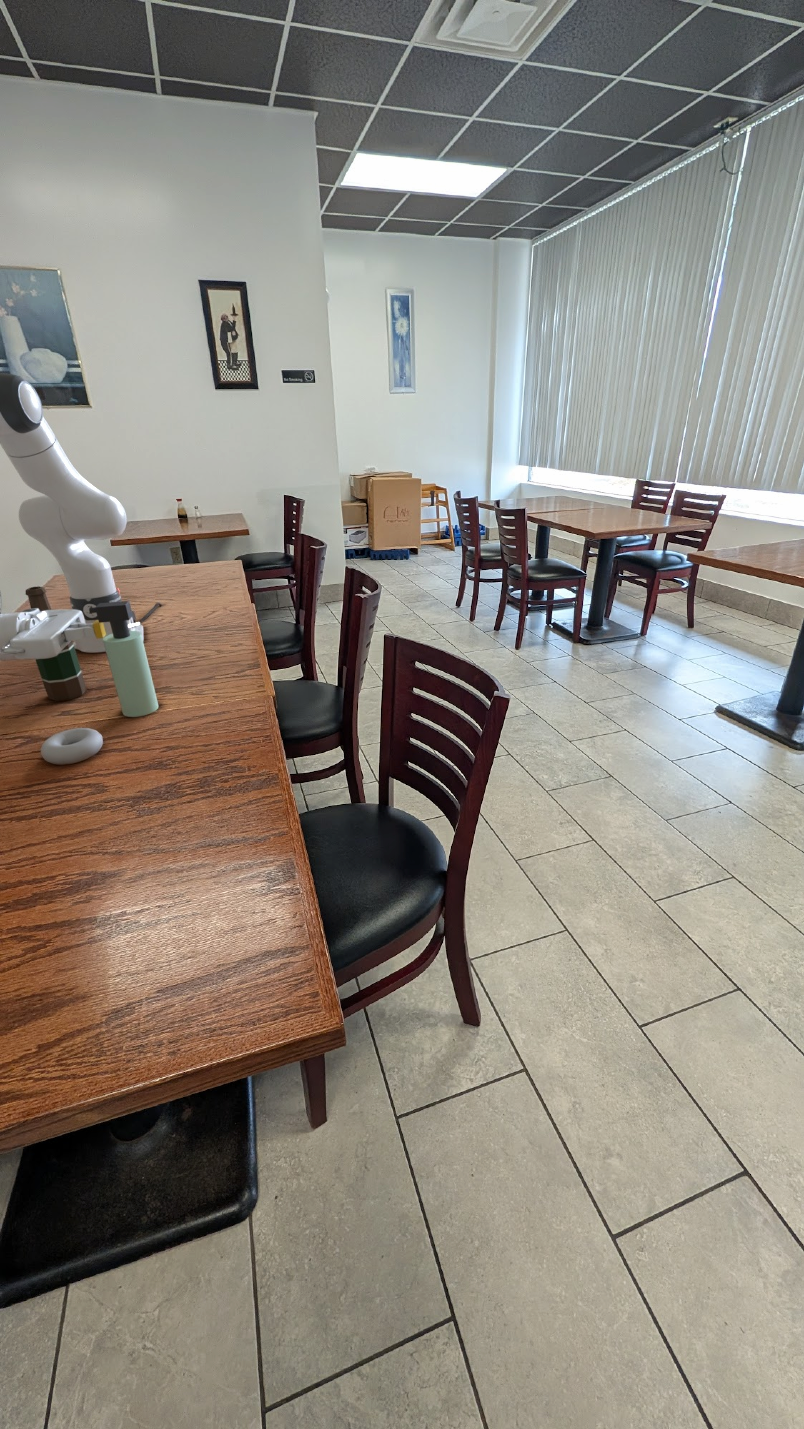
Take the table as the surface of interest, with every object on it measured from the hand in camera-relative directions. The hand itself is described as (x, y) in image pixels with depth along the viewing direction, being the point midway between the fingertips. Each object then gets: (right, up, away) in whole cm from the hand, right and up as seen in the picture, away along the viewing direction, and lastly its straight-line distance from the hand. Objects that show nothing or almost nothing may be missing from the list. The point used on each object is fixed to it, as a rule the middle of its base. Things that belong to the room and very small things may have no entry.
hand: (96, 629), depth 114 cm
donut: (0, -24, -8) cm, 25 cm away
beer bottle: (-15, -12, +17) cm, 26 cm away
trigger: (+1, -1, +1) cm, 2 cm away
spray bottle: (+5, -16, +8) cm, 18 cm away
